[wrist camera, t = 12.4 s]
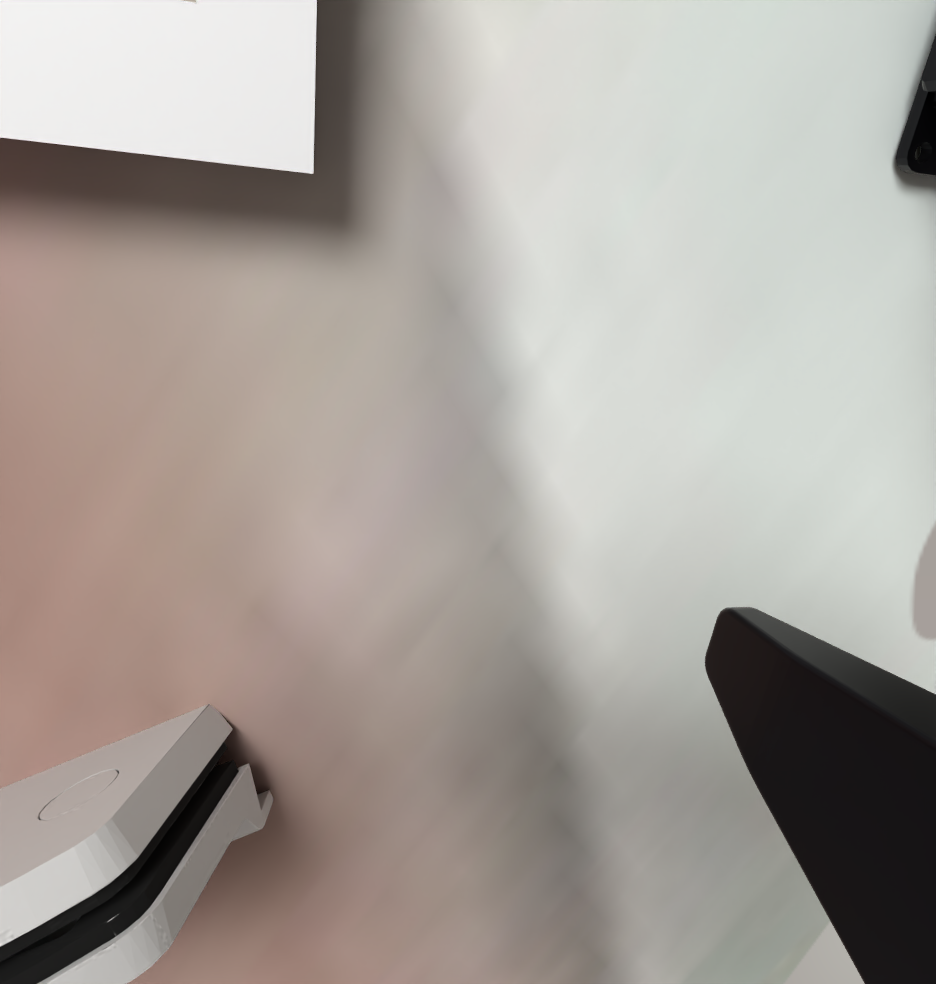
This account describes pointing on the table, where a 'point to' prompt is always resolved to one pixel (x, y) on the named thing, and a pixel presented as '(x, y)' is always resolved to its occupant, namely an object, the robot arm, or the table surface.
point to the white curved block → (117, 851)
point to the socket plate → (163, 78)
